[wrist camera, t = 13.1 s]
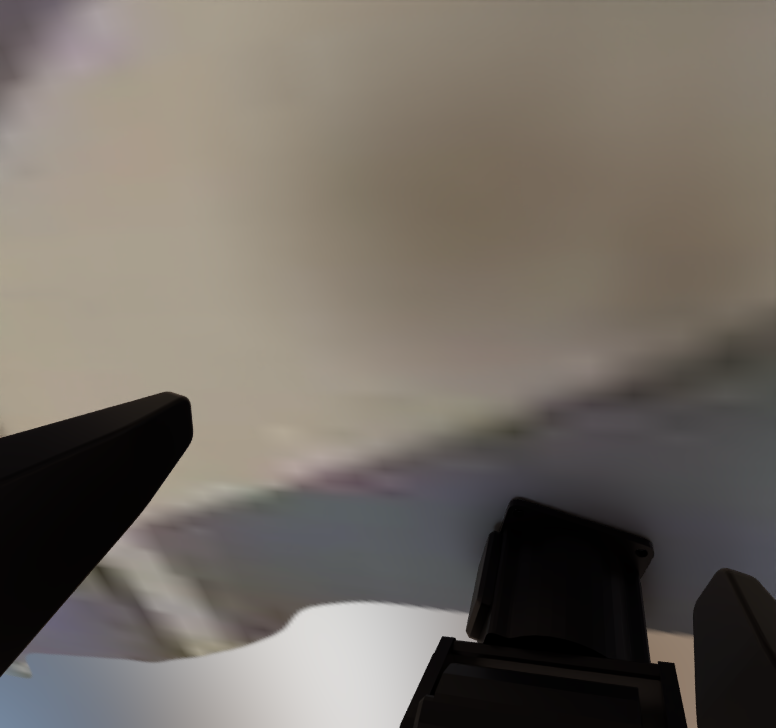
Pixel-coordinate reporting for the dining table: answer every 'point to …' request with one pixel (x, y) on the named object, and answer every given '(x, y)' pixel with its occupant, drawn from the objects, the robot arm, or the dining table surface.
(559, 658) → the robot arm
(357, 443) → the dining table surface
